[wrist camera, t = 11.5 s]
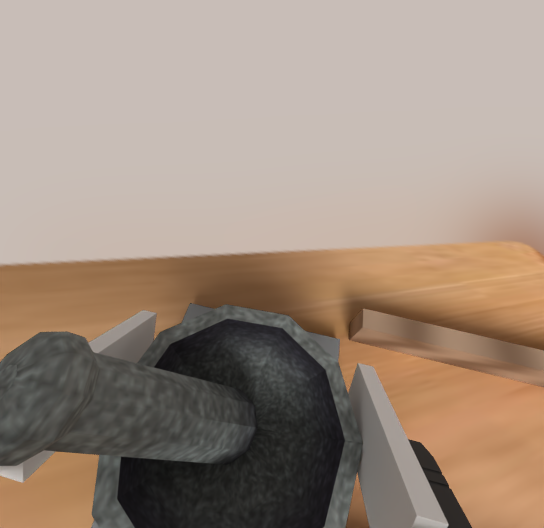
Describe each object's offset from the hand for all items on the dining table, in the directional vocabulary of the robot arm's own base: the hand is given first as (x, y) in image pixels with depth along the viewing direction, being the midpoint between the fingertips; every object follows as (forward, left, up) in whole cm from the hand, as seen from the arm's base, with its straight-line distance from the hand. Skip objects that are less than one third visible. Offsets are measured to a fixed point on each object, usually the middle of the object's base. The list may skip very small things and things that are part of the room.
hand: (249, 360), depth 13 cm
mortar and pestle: (-1, -3, -5) cm, 6 cm away
